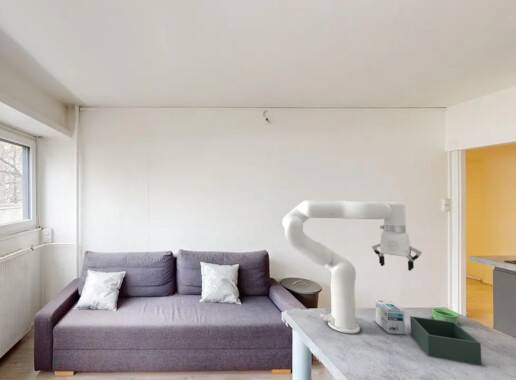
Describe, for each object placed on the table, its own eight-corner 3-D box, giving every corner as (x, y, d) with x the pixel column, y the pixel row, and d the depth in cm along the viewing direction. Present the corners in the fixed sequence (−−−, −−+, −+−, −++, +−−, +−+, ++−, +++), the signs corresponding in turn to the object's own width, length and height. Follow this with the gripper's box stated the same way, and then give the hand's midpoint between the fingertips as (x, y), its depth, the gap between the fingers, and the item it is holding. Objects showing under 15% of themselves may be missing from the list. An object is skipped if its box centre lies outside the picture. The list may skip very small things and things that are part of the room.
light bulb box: (405, 335, 114) (404, 310, 114) (388, 333, 116) (387, 309, 116) (391, 323, 125) (390, 300, 125) (375, 321, 126) (374, 299, 126)
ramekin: (441, 325, 122) (440, 315, 122) (427, 316, 131) (427, 307, 131) (464, 326, 120) (464, 317, 120) (449, 317, 129) (448, 308, 129)
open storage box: (428, 355, 100) (427, 335, 100) (410, 333, 115) (410, 316, 115) (481, 365, 94) (480, 343, 94) (455, 340, 109) (454, 322, 109)
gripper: (368, 228, 122) (370, 265, 122) (418, 232, 108) (420, 273, 108) (374, 226, 127) (375, 262, 126) (422, 230, 113) (423, 270, 113)
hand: (396, 267), depth 117 cm, fingers open, 9 cm apart
